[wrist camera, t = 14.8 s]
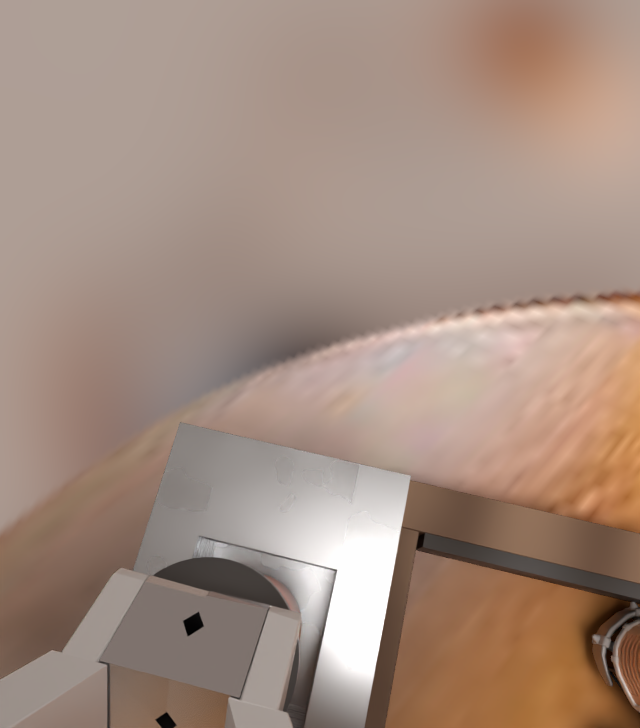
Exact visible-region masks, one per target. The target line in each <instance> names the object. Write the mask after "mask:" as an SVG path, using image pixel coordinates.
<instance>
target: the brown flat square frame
mask: <svg viewBox="0 0 640 728" xmlns="http://www.w3.org/2000/svg"><path fill="white" fill-rule="evenodd" d="M416 550H418V551H422V552H427V553H431V554H435V555H439V556H443V557H447V558H451V559H455V560H460V561H464V562H468V563H472V564H476V565H480V566H484V567H488V568H493V569H497V570H501V571H505V572H509V573H513V574H517V575H522V576H526V577H530V578H534V579H538V580H542V581H546V582H550V583H555V584H559V585H563V586H567V587H571V588H575V589H579V590H584V591H588V592H592V593H596V594H600V595H604V596H608V597H612V598H617V599H621V600H625V601H629V602H635V603H637V604H640V534H639V533H635V532H630V531H626V530H622V529H617V528H613V527H609V526H604V525H600V524H596V523H592V522H587V521H583V520H579V519H574V518H570V517H566V516H562V515H557V514H553V513H549V512H544V511H540V510H536V509H531V508H527V507H523V506H519V505H514V504H510V503H506V502H501V501H497V500H493V499H489V498H484V497H480V496H476V495H471V494H467V493H463V492H458V491H454V490H450V489H446V488H441V487H437V486H433V485H428V484H424V483H420V482H416V481H411V480H410V483H409V489H408V494H407V499H406V505H405V510H404V516H403V521H402V527H401V532H400V537H399V543H398V548H397V554H396V559H395V564H394V570H393V575H392V581H391V586H390V591H389V597H388V602H387V608H386V613H385V619H384V624H383V629H382V635H381V640H380V646H379V651H378V656H377V662H376V667H375V673H374V678H373V683H372V689H371V694H370V700H369V705H368V711H367V716H366V721H365V727H364V728H385V723H386V717H387V711H388V705H389V700H390V694H391V688H392V683H393V677H394V671H395V665H396V660H397V654H398V648H399V643H400V637H401V631H402V626H403V620H404V614H405V608H406V603H407V597H408V591H409V586H410V580H411V574H412V568H413V563H414V557H415V551H416Z"/></svg>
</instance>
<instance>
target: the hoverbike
mask: <svg viewBox="0 0 640 728" xmlns="http://www.w3.org/2000/svg"><path fill="white" fill-rule="evenodd" d="M631 618H632V619H633V620H634V621H633V622H631V623H626V621H628V620H629V619H631ZM620 628H622V630H621V631H620V633H619V634H618V636H617V637H616V640H615V642H613V641H611V637H612V635H613V634H615V633H616V632H617V631H618V630H619V629H620ZM592 643H593V650H592V652H593V655H594V659H595V662H596V665H597V668H598V670H599V672H600V674H601V676H602V678H603V680H604V681H605V683H606V684H607V685H609V686H613V682H612V679H611V676H612V677H613V679H614V680H615V681H616V682H617V684H618V685H619V686H620V688H621V689H622V690H623V691H624V693H625V694H626V696H627V698H628V700H629V702H630V703H631V705H632V707H633V708H634V709H636V710H637V711H638V712H639V713H640V608H639V607H638V605H637V604H636V603H635V602H630V607H628V608H625V609H624V610H621V611H619V612H617V613H615V614H614V615H613V616H612V617H611V618H610V619H608V620H607V621H606V622H605V623H604V624H603V625H601V626H600V628H599V630H598V631H597V633H596V634H593V635H592ZM607 650H609V651H611V652H612V653H613V656H612V655H611V661H612V662H613V665H614V668H611V667H608V665H607V660H606V652H607ZM612 672H614V673H616V676H617V678H618V679H617V678H616V677H615V676H614V674H613V673H612ZM610 675H611V676H610ZM618 680H619V681H618Z"/></svg>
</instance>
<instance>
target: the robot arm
mask: <svg viewBox="0 0 640 728" xmlns="http://www.w3.org/2000/svg"><path fill="white" fill-rule="evenodd" d="M301 620H302V613H299V612H295V611H291V610H286V609H282V608H278V607H274V606H271V605H268V604H264V603H260V602H255V601H251V600H247V599H243V598H238V597H234V596H230V595H226V594H222V593H217V592H213V591H210V592H209V591H205V590H202V589H198V588H195V587H191V586H188V585H184V584H180V583H177V582H173V581H170V580H166V579H163V578H159V577H155V576H152V575H147V574H143V573H140V572H136V571H132V570H128V569H125V568H120V569H119V570H117V571H116V572H115V573H114V574H113V575H112V576H111V577H110V579H109V581H108V582H107V584H106V585H105V587H104V588H103V590H102V591H101V593H100V594H99V596H98V597H97V599H96V600H95V602H94V603H93V605H92V606H91V608H90V609H89V611H88V612H87V614H86V615H85V617H84V619H83V620H82V622H81V623H80V625H79V626H78V628H77V629H76V631H75V632H74V634H73V635H72V637H71V638H70V640H69V641H68V643H67V644H66V646H65V647H64V649H63V650H62V652H58V651H54V650H51V651H49V652H48V653H46V654H44V655H42V656H41V657H39V658H37V659H35V660H34V661H32V662H30V663H28V664H27V665H25V666H23V667H21V668H19V669H18V670H16V671H14V672H12V673H11V674H9V675H7V676H5V677H4V678H2V679H0V728H293V725H292V722H291V719H290V717H289V714H288V713H287V712H283V708H284V704H285V699H286V695H287V690H288V685H289V680H290V675H291V670H292V665H293V660H294V655H295V650H296V645H297V640H298V635H299V630H300V625H301Z"/></svg>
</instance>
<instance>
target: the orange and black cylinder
mask: <svg viewBox="0 0 640 728" xmlns="http://www.w3.org/2000/svg"><path fill="white" fill-rule="evenodd" d="M153 576H155V577H159V578H163V579H166V580H170V581H173V582H177V583H180V584H184V585H188V586H191V587H195V588H198V589H202V590H205V591H209V592H210V591H213V592H217V593H222V594H226V595H230V596H234V597H238V598H243V599H247V600H251V601H255V602H260V603H264V604H268V605H271V606H274V607H278V608H282V609H286V610H291V611H295V612H299V613H300V609H299V606H298V604H297V602H296V599H295V598H294V596H293V594H292V593H291V592H290V590H289V589H288V588H287V587H286V586H285V585H284V584H282V583H281V582H280V581H278V580H277V579H275V578H273V577H270V576H267V575H263V574H261V573H260V572H258V571H257V570H255V569H253V568H251V567H249V566H247V565H245V564H243V563H239V562H236V561H233V560H229V559H223V558H217V557H200V558H192V559H188V560H183V561H180V562H177V563H175V564H172V565H169V566H168V567H166V568H164V569H162V570H160V571H158V572H157V573H155V574H154V575H153ZM301 631H302V620H301V625H300V630H299V635H298V640H297V645H296V650H295V655H294V660H293V665H292V670H291V675H290V680H289V685H288V690H287V695H286V699H285V704H284V708H283V712H286V710H287V708H288V706H289V703H290V701H291V698H292V695H293V692H294V688H295V685H296V681H297V677H298V671H299V665H300V644H299V641H300V638H301Z"/></svg>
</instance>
